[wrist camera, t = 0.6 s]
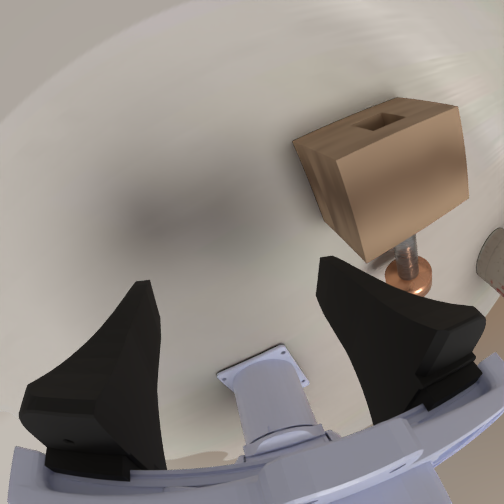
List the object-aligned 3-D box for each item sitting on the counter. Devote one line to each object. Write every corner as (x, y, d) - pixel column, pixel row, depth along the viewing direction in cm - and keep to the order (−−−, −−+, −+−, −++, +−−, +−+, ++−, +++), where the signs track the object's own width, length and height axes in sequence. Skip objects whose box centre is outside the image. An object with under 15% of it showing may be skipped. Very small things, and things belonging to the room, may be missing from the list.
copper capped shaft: (413, 259, 25) (441, 284, 21) (378, 281, 25) (403, 310, 22) (394, 150, 19) (433, 165, 16) (350, 172, 20) (385, 191, 16)
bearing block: (415, 171, 22) (468, 198, 17) (324, 220, 23) (366, 263, 17) (397, 97, 19) (457, 106, 13) (292, 141, 19) (335, 160, 13)
